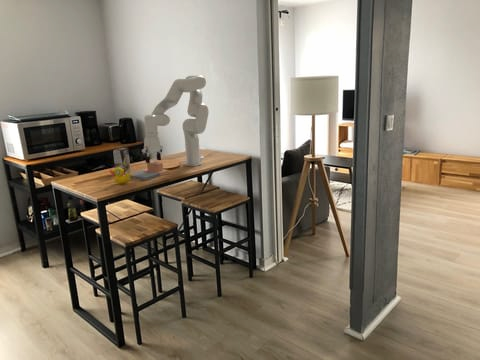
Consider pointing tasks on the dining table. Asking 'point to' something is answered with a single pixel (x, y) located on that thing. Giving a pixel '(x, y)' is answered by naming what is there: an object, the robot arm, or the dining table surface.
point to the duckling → (118, 177)
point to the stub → (156, 168)
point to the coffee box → (122, 159)
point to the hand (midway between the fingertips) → (153, 161)
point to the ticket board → (143, 175)
